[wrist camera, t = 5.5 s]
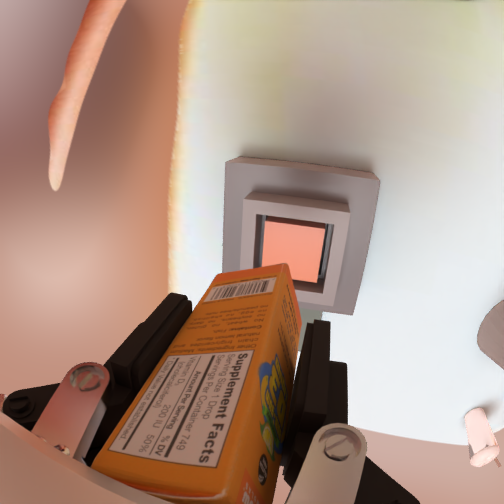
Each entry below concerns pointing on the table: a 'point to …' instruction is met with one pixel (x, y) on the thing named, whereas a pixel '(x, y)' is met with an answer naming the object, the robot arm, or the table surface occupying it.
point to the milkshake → (480, 438)
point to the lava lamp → (493, 334)
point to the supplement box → (215, 398)
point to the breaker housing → (303, 208)
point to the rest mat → (309, 317)
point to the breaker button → (294, 246)
